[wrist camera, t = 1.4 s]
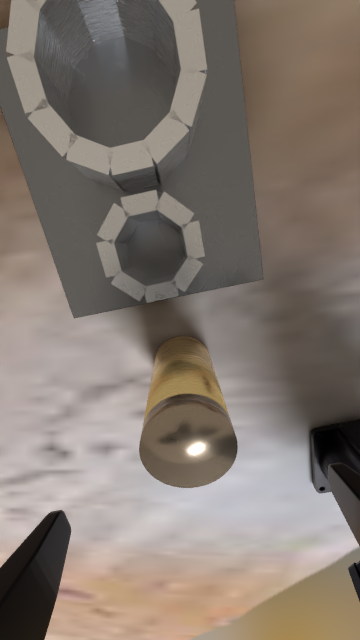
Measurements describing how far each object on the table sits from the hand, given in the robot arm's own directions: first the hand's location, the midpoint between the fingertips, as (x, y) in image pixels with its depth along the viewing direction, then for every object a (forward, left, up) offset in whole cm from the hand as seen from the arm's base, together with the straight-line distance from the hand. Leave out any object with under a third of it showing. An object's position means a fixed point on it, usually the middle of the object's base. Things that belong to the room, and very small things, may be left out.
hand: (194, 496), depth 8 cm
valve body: (0, 0, -10) cm, 10 cm away
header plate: (+12, 0, -10) cm, 16 cm away
